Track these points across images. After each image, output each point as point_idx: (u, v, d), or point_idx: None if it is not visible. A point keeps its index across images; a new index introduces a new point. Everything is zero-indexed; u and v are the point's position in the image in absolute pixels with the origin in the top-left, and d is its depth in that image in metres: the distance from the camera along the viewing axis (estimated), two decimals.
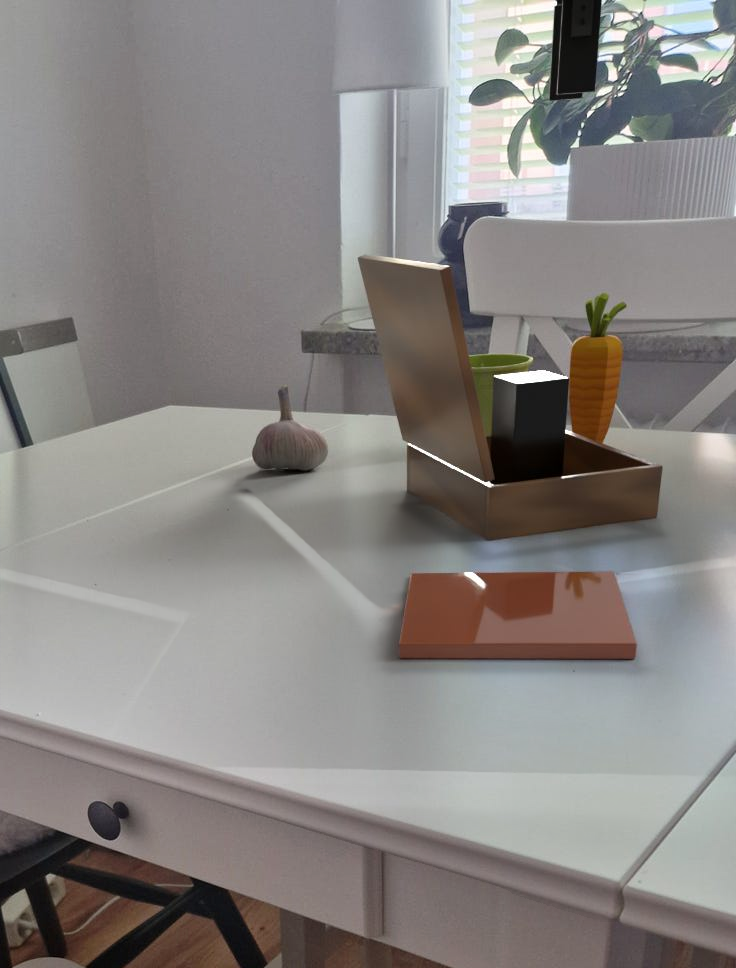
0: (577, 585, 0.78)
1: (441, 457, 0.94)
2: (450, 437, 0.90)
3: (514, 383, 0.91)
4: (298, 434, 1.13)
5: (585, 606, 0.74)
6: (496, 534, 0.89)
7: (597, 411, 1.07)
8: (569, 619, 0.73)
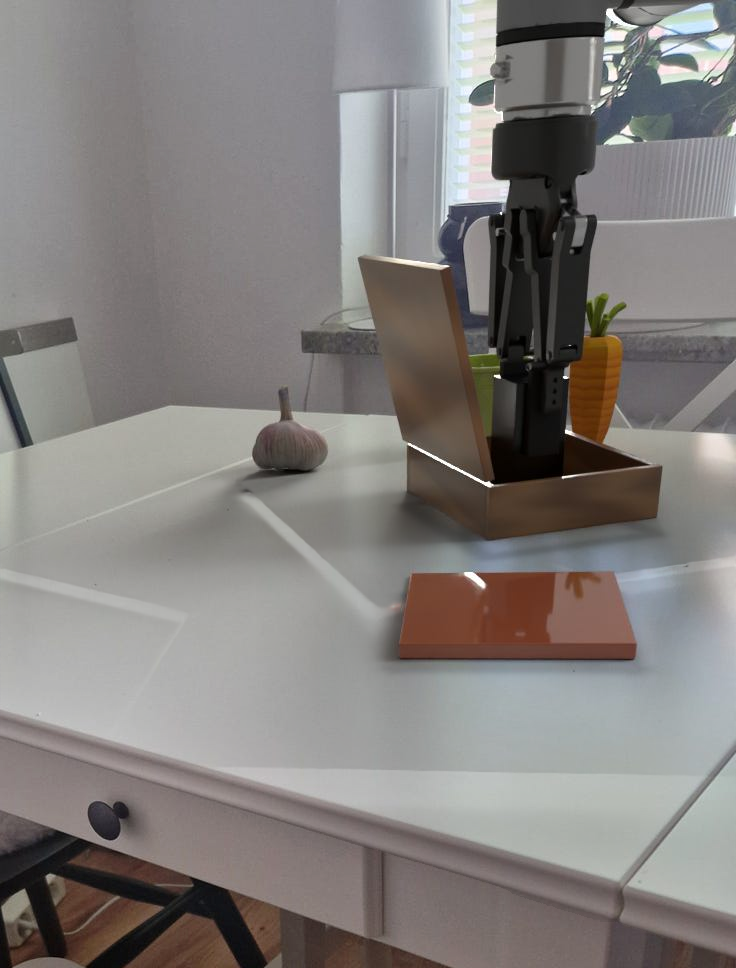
0: (577, 585, 0.78)
1: (441, 457, 0.94)
2: (450, 437, 0.90)
3: (514, 383, 0.91)
4: (298, 434, 1.13)
5: (585, 606, 0.74)
6: (496, 534, 0.89)
7: (597, 411, 1.07)
8: (569, 619, 0.73)
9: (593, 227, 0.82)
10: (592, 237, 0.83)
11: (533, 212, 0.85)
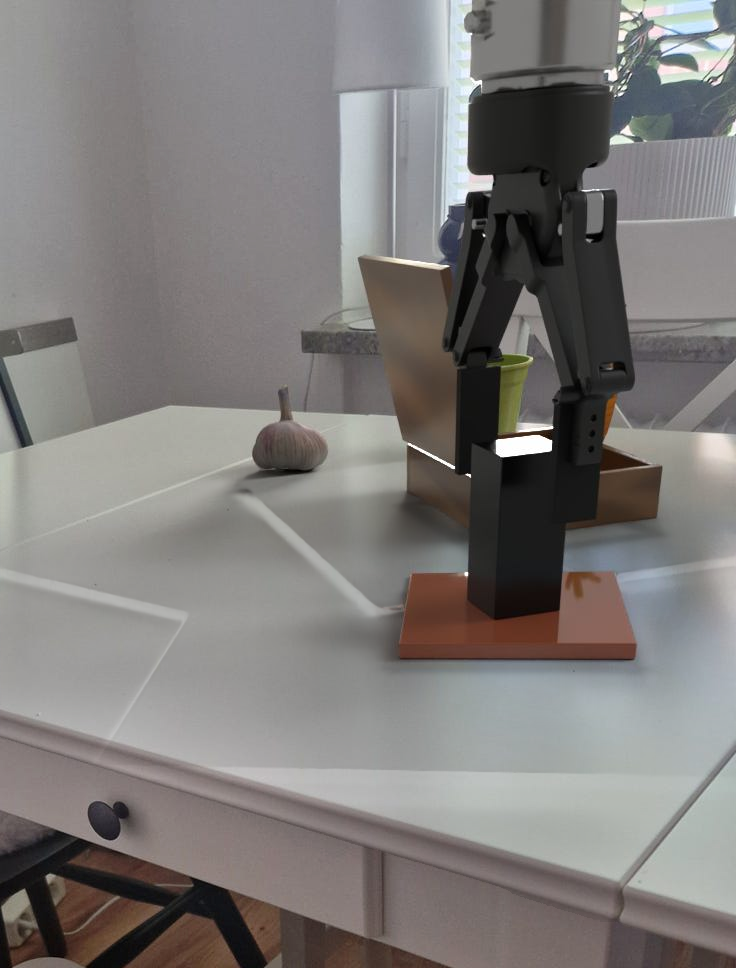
0: (577, 585, 0.78)
1: (441, 457, 0.94)
2: (450, 437, 0.90)
3: (498, 456, 0.69)
4: (298, 434, 1.13)
5: (585, 606, 0.74)
6: None
7: None
8: (569, 619, 0.73)
9: (613, 200, 0.58)
10: (614, 216, 0.59)
11: (523, 215, 0.63)
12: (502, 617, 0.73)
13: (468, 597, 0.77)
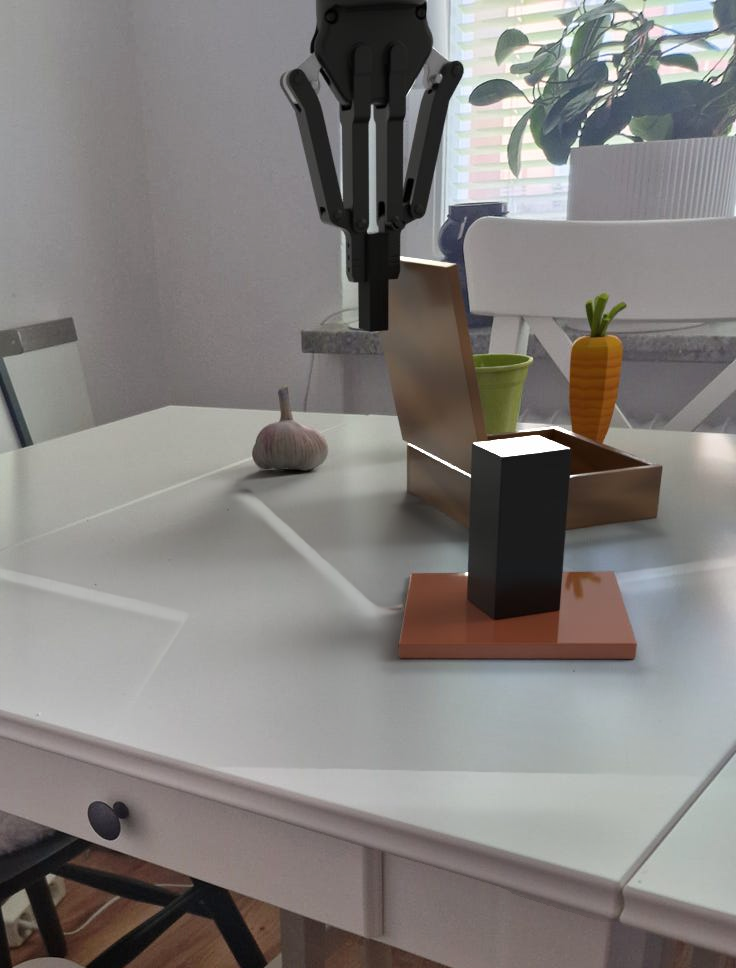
0: (577, 585, 0.78)
1: (441, 457, 0.94)
2: (451, 436, 0.90)
3: (498, 456, 0.69)
4: (298, 434, 1.13)
5: (585, 606, 0.74)
6: None
7: (597, 411, 1.07)
8: (569, 619, 0.73)
9: (289, 85, 0.78)
10: (295, 95, 0.79)
11: None
12: (502, 617, 0.73)
13: (468, 597, 0.77)
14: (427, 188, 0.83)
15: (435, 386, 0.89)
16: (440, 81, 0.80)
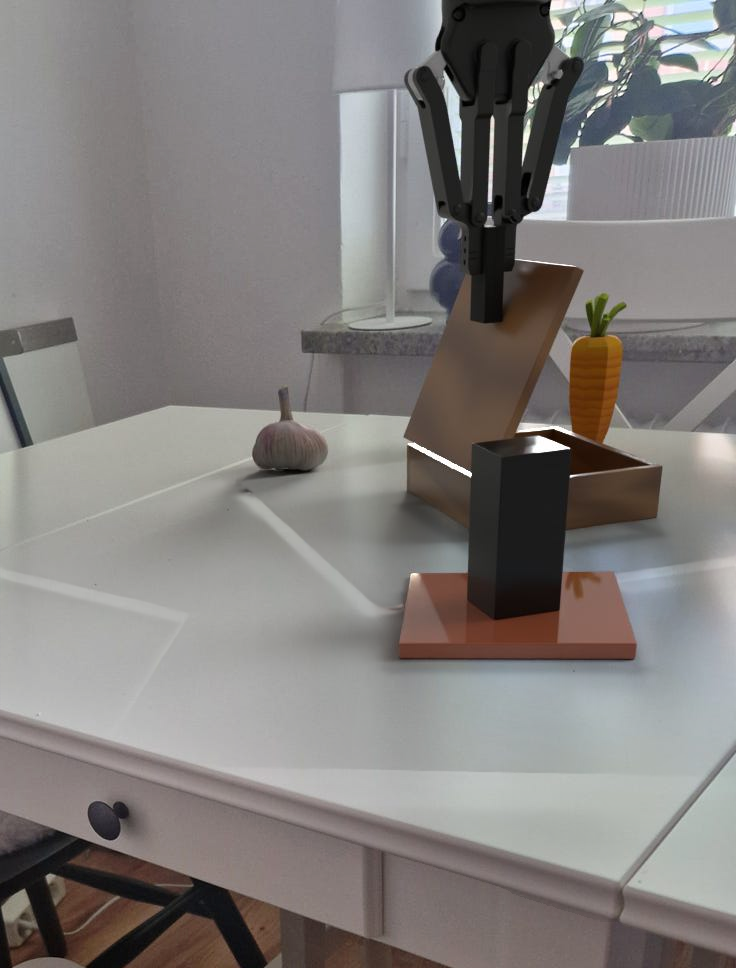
0: (577, 585, 0.78)
1: (443, 453, 0.94)
2: (471, 433, 0.91)
3: (498, 456, 0.69)
4: (298, 434, 1.13)
5: (585, 606, 0.74)
6: None
7: (597, 411, 1.07)
8: (569, 619, 0.73)
9: (416, 82, 0.80)
10: (421, 92, 0.80)
11: None
12: (502, 617, 0.73)
13: (468, 597, 0.77)
14: (544, 182, 0.85)
15: (483, 382, 0.90)
16: (561, 77, 0.82)
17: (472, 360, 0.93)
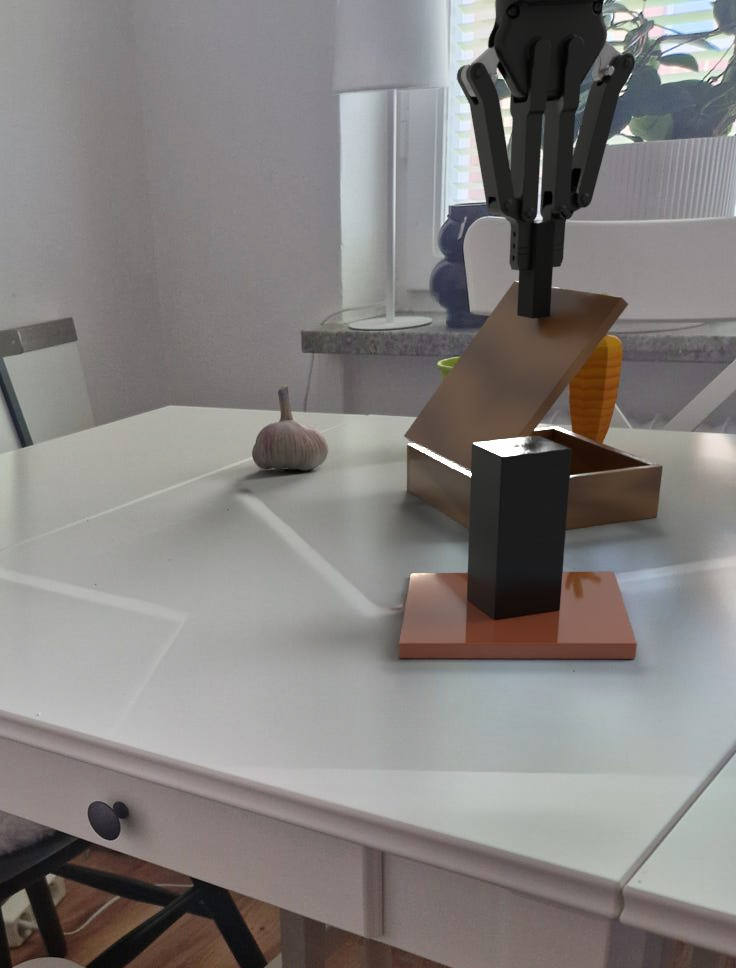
0: (577, 585, 0.78)
1: (445, 452, 0.94)
2: (479, 436, 0.91)
3: (498, 456, 0.69)
4: (298, 434, 1.13)
5: (585, 606, 0.74)
6: None
7: (597, 411, 1.07)
8: (569, 619, 0.73)
9: (470, 79, 0.81)
10: (475, 88, 0.81)
11: None
12: (502, 617, 0.73)
13: (468, 597, 0.77)
14: (594, 178, 0.86)
15: (502, 392, 0.91)
16: (612, 73, 0.83)
17: (494, 372, 0.94)
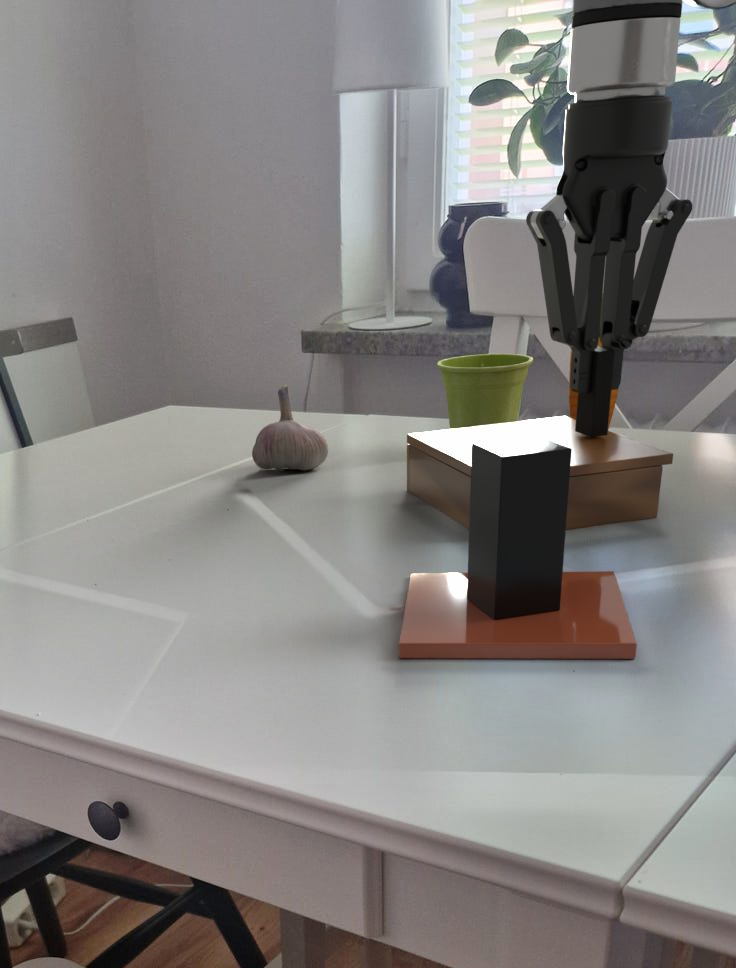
0: (577, 585, 0.78)
1: (450, 453, 0.94)
2: None
3: (498, 456, 0.69)
4: (298, 434, 1.13)
5: (585, 606, 0.74)
6: None
7: None
8: (569, 619, 0.73)
9: (539, 225, 0.87)
10: (544, 233, 0.87)
11: None
12: (502, 617, 0.73)
13: (468, 597, 0.77)
14: (651, 310, 0.92)
15: None
16: (671, 217, 0.89)
17: None
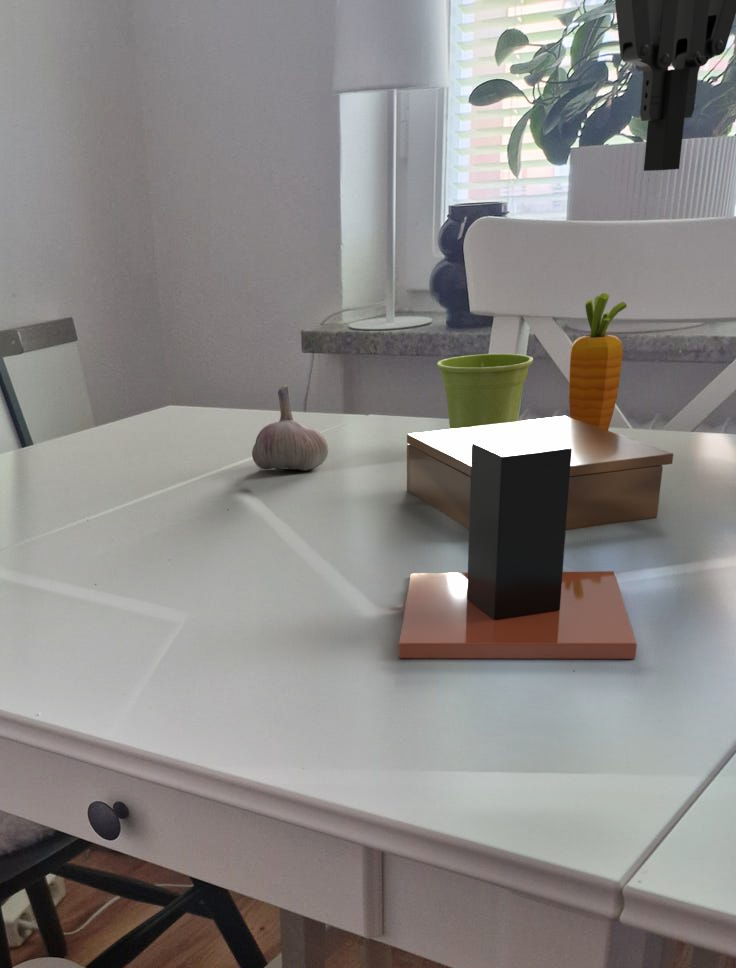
0: (577, 585, 0.78)
1: (450, 453, 0.94)
2: None
3: (498, 456, 0.69)
4: (298, 434, 1.13)
5: (585, 606, 0.74)
6: None
7: (597, 411, 1.07)
8: (569, 619, 0.73)
9: None
10: None
11: None
12: (502, 617, 0.73)
13: (468, 597, 0.77)
14: (729, 24, 0.86)
15: None
16: None
17: None
